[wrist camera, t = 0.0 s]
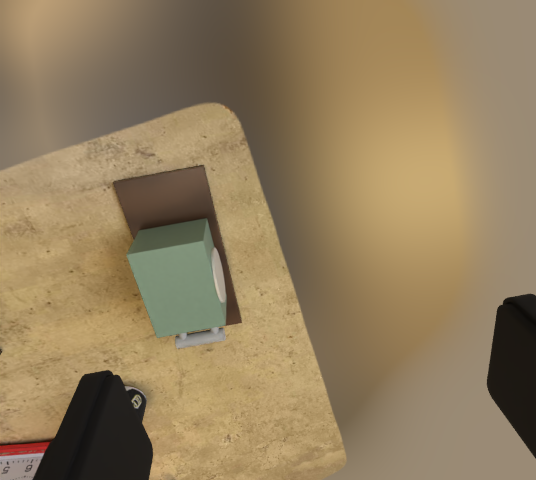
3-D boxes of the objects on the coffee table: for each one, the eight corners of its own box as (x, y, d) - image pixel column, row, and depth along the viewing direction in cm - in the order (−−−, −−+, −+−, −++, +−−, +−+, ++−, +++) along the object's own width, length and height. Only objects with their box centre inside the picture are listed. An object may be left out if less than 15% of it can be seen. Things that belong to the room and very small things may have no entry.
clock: (125, 255, 40) (167, 367, 47) (206, 241, 40) (235, 354, 47) (139, 229, 46) (174, 332, 52) (209, 216, 46) (235, 321, 52)
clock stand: (113, 181, 43) (112, 182, 43) (203, 164, 43) (203, 166, 43) (169, 333, 53) (168, 336, 53) (241, 320, 53) (241, 323, 53)
